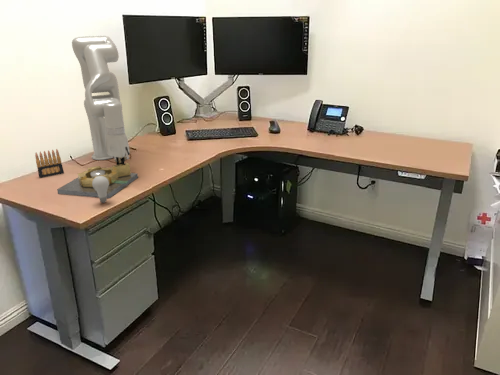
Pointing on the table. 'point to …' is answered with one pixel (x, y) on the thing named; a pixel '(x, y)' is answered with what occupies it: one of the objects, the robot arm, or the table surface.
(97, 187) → the lightbulb
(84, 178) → the ring nut
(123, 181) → the housing
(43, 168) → the ammunition clip
